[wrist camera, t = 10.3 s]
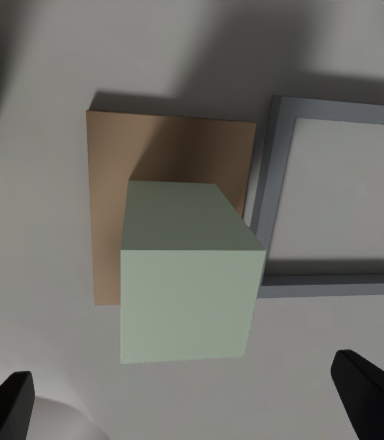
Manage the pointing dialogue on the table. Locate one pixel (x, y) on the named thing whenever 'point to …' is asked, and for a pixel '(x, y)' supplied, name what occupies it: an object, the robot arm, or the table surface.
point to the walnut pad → (155, 172)
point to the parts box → (185, 274)
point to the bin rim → (271, 186)
